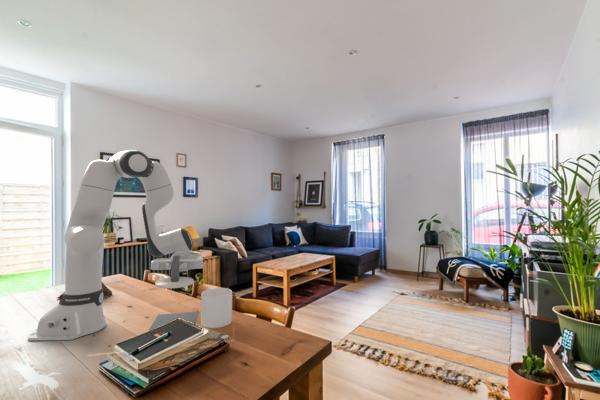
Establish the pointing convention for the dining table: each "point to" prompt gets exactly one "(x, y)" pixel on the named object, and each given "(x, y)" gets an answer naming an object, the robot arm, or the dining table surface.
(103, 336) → the dining table surface
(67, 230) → the robot arm
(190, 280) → the lid
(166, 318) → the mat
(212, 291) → the cup
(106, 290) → the worn brown figurine
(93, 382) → the dining table surface
